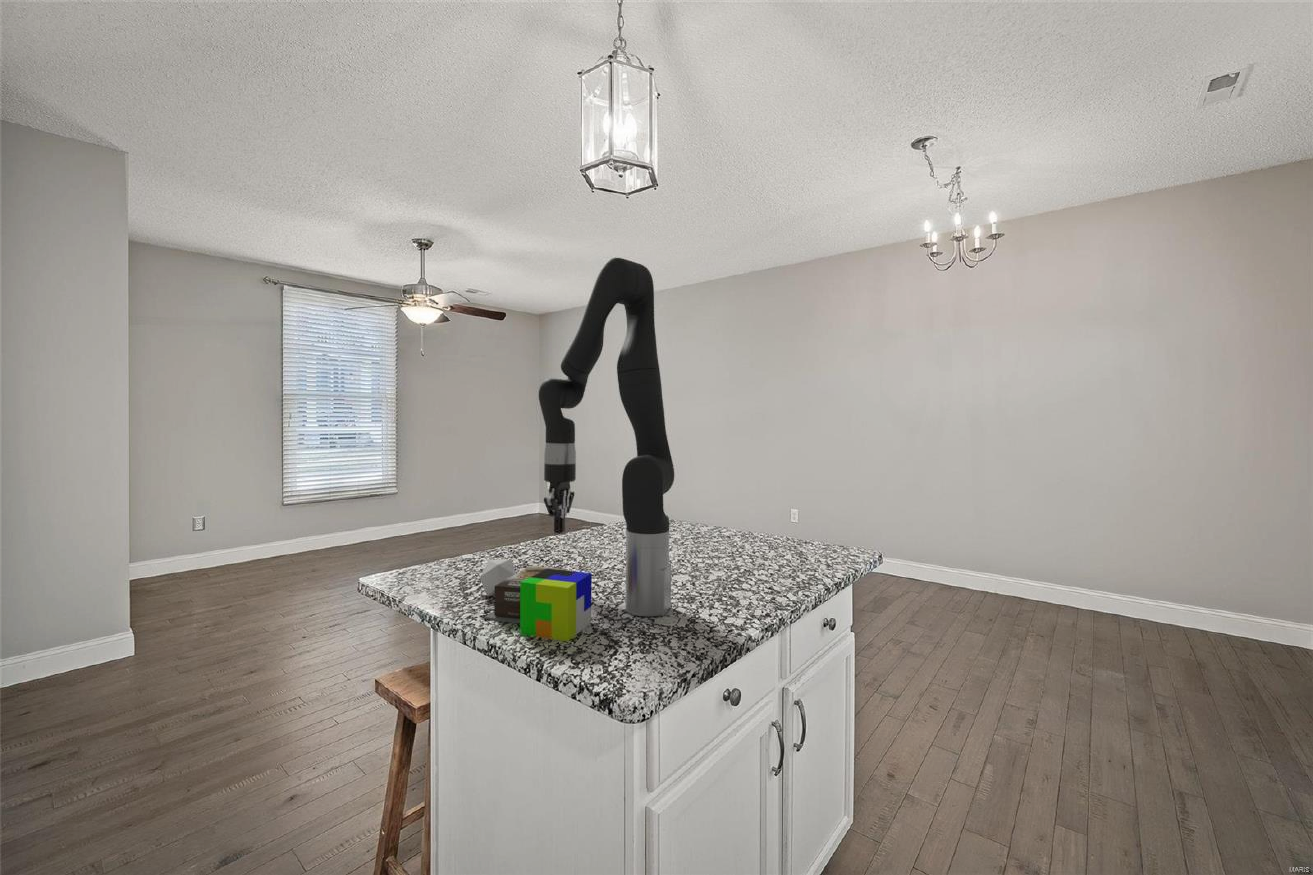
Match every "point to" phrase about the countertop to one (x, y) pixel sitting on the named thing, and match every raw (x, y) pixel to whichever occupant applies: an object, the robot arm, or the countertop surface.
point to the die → (496, 574)
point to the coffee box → (513, 592)
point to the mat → (502, 618)
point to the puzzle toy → (555, 604)
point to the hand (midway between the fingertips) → (559, 532)
